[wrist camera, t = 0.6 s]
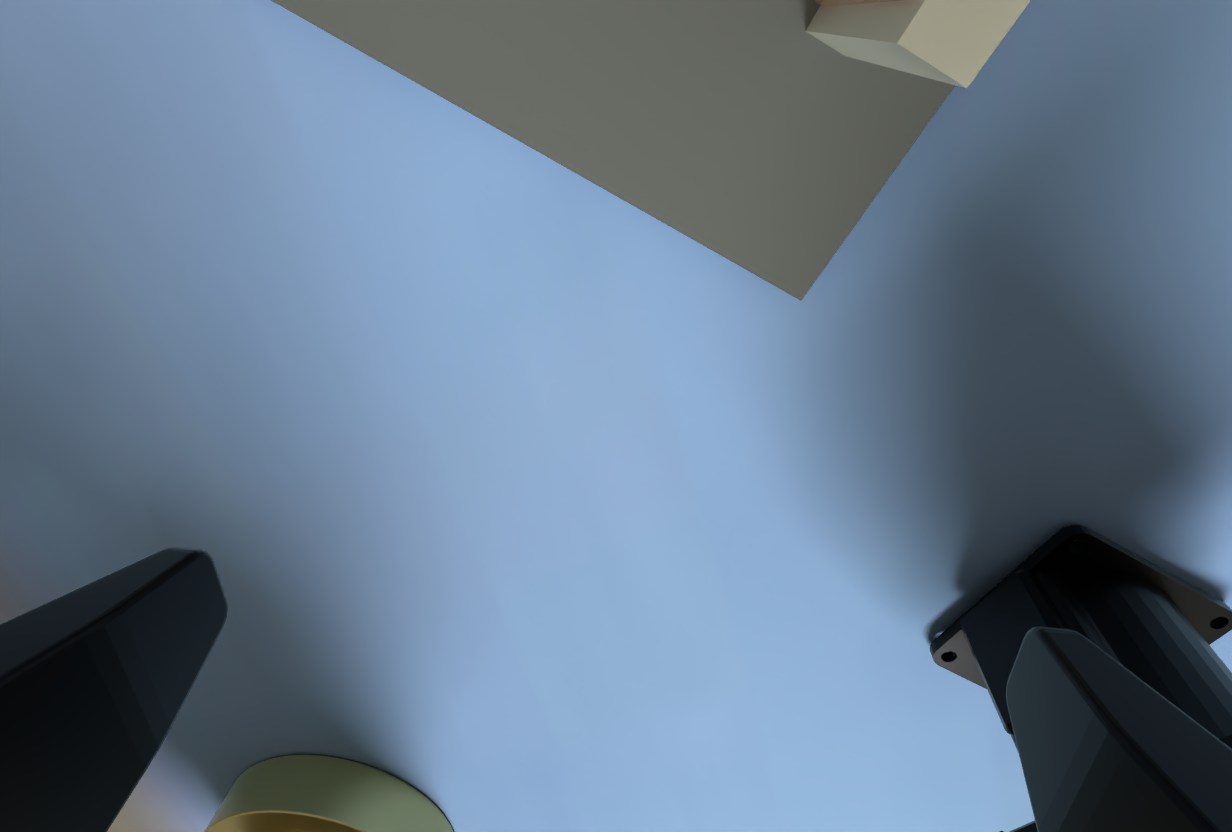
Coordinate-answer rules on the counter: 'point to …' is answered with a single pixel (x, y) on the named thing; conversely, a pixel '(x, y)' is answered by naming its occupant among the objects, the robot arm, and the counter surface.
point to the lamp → (323, 799)
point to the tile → (918, 33)
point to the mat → (670, 108)
